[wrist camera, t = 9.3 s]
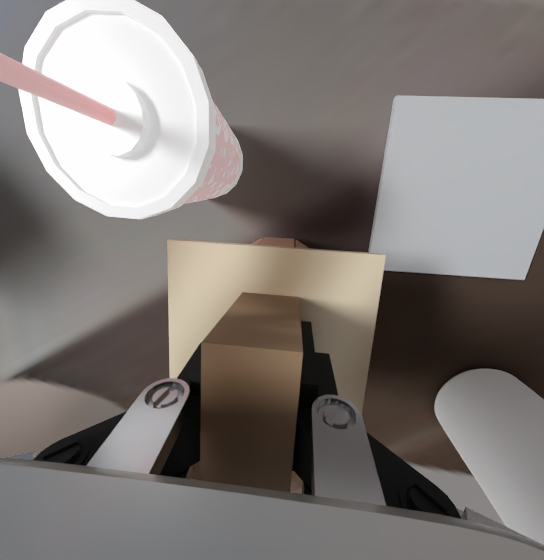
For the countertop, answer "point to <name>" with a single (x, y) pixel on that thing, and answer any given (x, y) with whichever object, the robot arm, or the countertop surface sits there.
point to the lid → (265, 343)
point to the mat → (461, 186)
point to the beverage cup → (122, 110)
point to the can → (499, 442)
